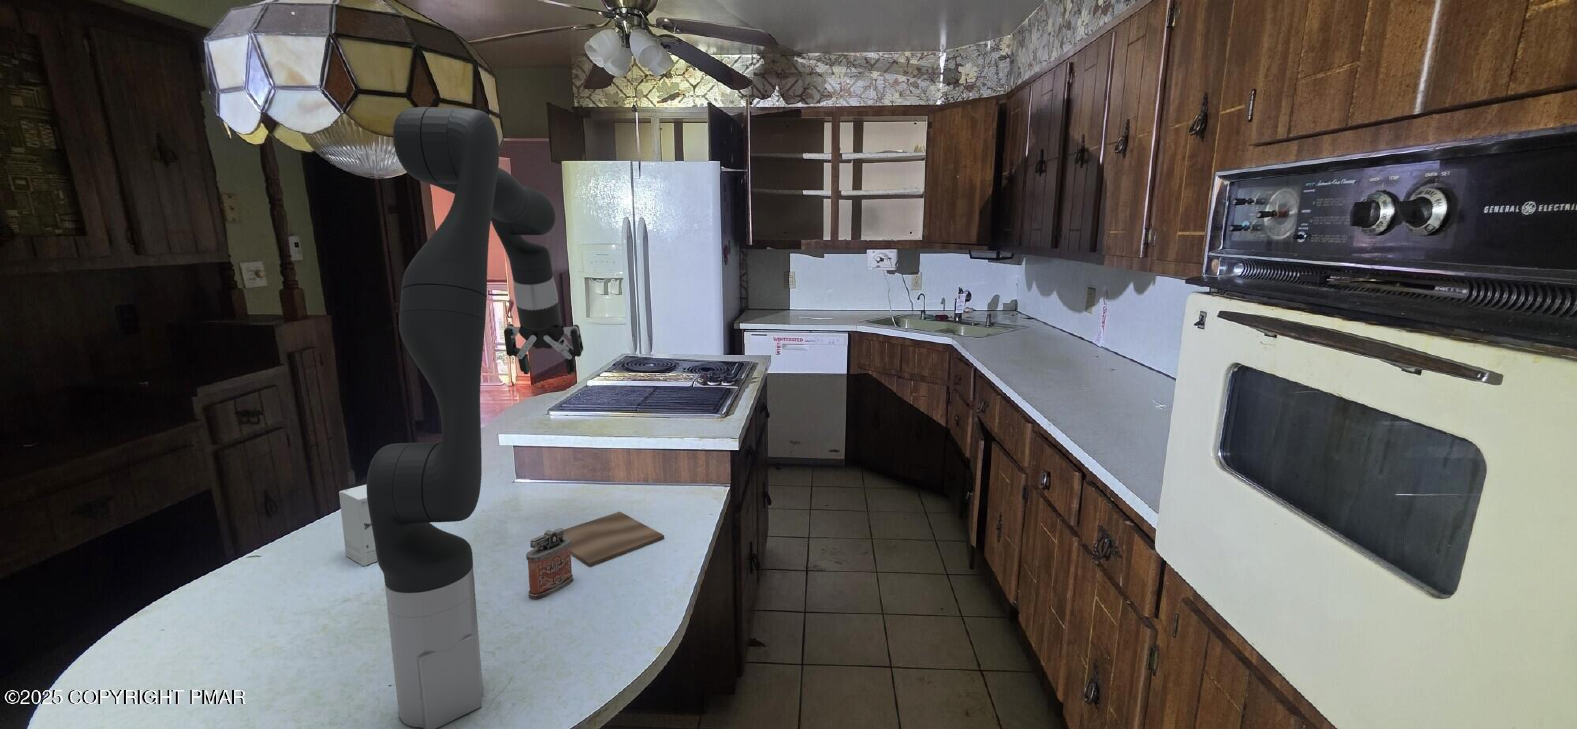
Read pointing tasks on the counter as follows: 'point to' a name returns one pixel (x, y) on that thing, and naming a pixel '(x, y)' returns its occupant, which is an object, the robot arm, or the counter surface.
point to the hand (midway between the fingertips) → (549, 372)
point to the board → (609, 538)
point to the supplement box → (357, 525)
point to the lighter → (549, 564)
